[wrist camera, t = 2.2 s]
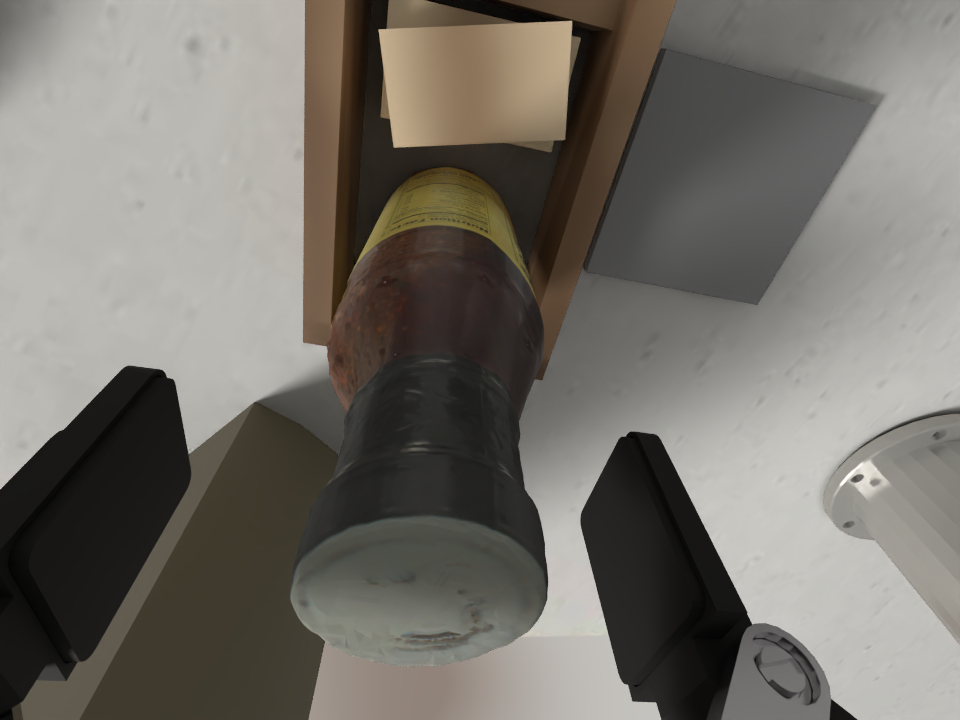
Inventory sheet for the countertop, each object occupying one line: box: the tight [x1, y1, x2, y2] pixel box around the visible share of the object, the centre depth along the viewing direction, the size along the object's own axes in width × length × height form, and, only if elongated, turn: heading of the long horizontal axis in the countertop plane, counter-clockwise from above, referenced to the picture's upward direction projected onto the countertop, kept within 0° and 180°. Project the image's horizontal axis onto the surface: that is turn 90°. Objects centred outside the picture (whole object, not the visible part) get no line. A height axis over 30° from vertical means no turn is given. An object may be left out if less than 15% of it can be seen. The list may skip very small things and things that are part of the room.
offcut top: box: [378, 21, 572, 148], centre depth 17 cm, size 6×3×3 cm, turn 92°
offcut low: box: [381, 0, 581, 152], centre depth 19 cm, size 7×4×3 cm, turn 79°
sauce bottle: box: [290, 167, 548, 666], centre depth 16 cm, size 7×6×20 cm
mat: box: [584, 49, 877, 305], centre depth 23 cm, size 10×10×1 cm
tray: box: [303, 0, 676, 380], centre depth 21 cm, size 11×15×5 cm
